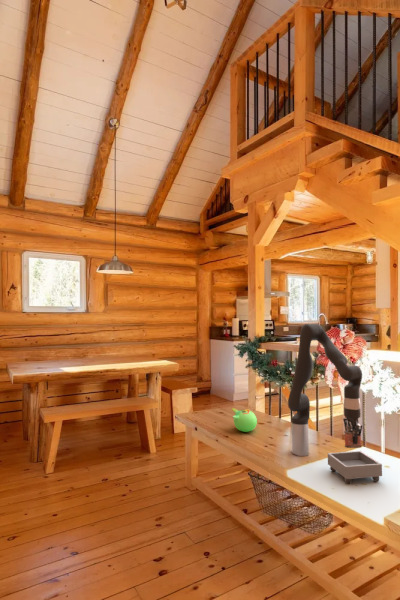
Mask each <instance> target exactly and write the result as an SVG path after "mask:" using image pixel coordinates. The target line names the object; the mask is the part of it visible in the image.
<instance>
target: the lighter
mask: <svg viewBox="0 0 400 600" xmlns="http://www.w3.org/2000/svg"><path fill="white" fill-rule="evenodd" d="M346 429H349V430H348V431H346V430H344V443H345V444H344V448H346V449H360V448H362V435H361V436H358V444H353V434H352V431H351V430H350V429H351V427H350V426H346ZM354 433H355V431H354ZM358 433H359V432H358Z"/></svg>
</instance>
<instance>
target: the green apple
mask: <svg viewBox="0 0 400 600" xmlns="http://www.w3.org/2000/svg"><path fill="white" fill-rule="evenodd" d="M231 409H232V411H233V413H234V415H233V416H232V419H233V424H234V426H235V428H236V429H237V430H238V431H240V432H242V433H248V432H252V431H254V429H255V428H256V427H257V423H258V419H257V416H256V414H255V413H254V412H253V411H252V410H250V409H249V408H248V409H240V410H238V409H237V408H235V407H231Z"/></svg>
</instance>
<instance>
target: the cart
mask: <svg viewBox="0 0 400 600" xmlns="http://www.w3.org/2000/svg"><path fill="white" fill-rule="evenodd" d="M327 465H329V469H330V471H331V472H334V473H335V472H337V473H338V474H339V475H341V476H342V477H343V478H344V482H345V483H346V484H347V485H351V484H352V483H353V479H365V478H371V479H372V480H373V481H374V482H375V483H376V482H379V481H380V477H382V476H383V468H382V467H383V463H381V462H379V461H378V460H376V459H374V458H373V457H372V456H369V455H368V454H366V453H365V452H363V451H361V450H355V451H353V450H352V451H341V452H327Z"/></svg>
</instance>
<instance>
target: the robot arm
mask: <svg viewBox="0 0 400 600" xmlns="http://www.w3.org/2000/svg"><path fill="white" fill-rule="evenodd" d="M312 341H317V342H318V343H319V344H321V346H322V347H323V350H324V354H325V356H326V358H327V359H328V360H329V361H330V362H331V363H332V365H333V366H335V369H336V371H337V373H338V374H339V376H340V378H342V380H344V381H346V382H348V383H347V384H346V385H345V386H344V387H343V388H344V389H343V395H344V396H343V415H344V417H345V418H343V426H344V429H345V430H344V431H348V430H349V429H346V426H350V427H351V429H350V430H351V431H352V434H353V444H358V436H361V437H362V430H363V425H362V424H360V422H359V418H361V417H362V416H361V413H362V412H361V400H360V398H361V397H360V388H361V384H362V381H363V380H362V379H363V373H362V372H363V371H362V368H361V367H359V366H358V365H348V364H347V363H348V359H347V357H346V355H345V354H344V353H342V351H340V349H339V348H337V346H336V344H334V342H333V341H332V340H331V339H330V337H329V336H328V334H327V333H326V330H325V329H324V328H323V326H321V325H320V324H319V323H304V324H303V325H302V326H301V329H300V333H299V347H298V354H297V358H296V364H295V368H294V369H295V370H294V376H293V379H292V380H293V381H292V384H291V388H290V391H289V394H288V395H289V396H288V399H287V400H288V401H287V405H288V408H289V410H290V411H291V412H295V414H294V415H292V416H291V452H292V454H293V455H295V456H301V457H306V456H308V455H309V454H310V447H309V446H310V443H309V442H310V441H309V440H310V439H309V419H310V410H311V408H310V407H311V406H310V404H311V403H310V402H311V401H310V398H309V396H308V395H307V394H305V393H302V392H303V391H304V388H305V386H306V384H307V383H308V382H309V381H310V379H311V377H312V374H313V371H314V370H313V369H314V359H313V357H312V354H311V345H312ZM354 431H355V433H354ZM358 432H359V433H358Z"/></svg>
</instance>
